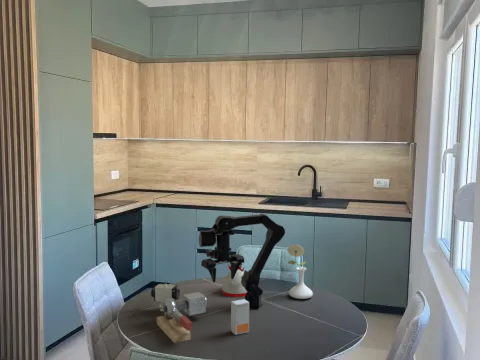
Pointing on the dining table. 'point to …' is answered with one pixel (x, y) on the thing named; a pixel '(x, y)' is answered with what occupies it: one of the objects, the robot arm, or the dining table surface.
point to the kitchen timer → (234, 284)
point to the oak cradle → (173, 329)
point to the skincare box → (239, 316)
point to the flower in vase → (299, 274)
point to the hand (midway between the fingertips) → (223, 280)
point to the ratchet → (177, 312)
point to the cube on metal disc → (195, 303)
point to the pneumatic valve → (164, 293)
